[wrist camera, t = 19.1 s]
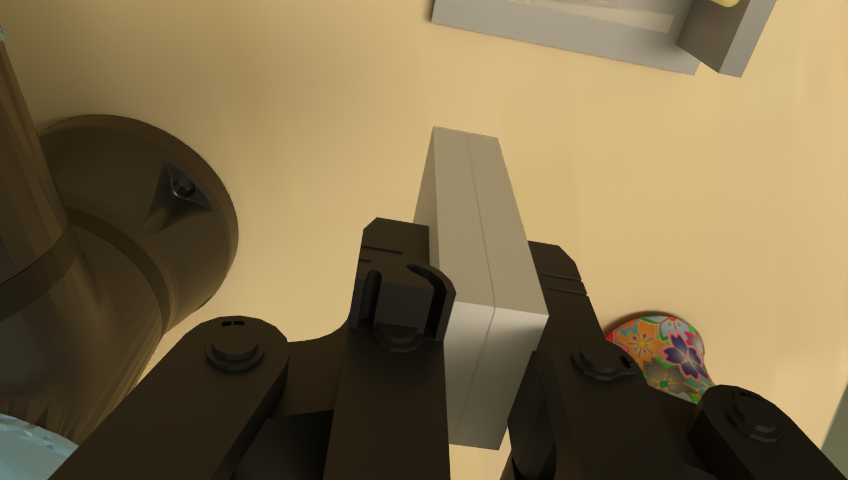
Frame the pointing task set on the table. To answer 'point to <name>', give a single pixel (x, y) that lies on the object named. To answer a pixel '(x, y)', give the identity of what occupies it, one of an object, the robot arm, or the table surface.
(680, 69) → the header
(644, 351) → the mug
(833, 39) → the table surface
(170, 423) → the robot arm
